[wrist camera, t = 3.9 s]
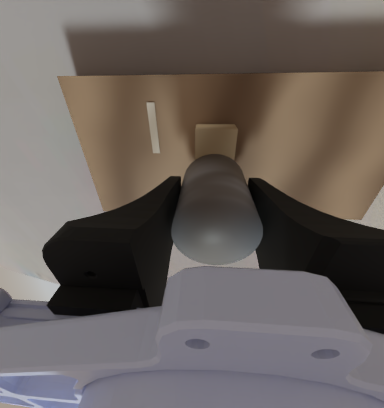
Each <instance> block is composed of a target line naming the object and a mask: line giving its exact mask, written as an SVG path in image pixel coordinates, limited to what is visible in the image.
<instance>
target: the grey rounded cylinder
mask: <svg viewBox="0 0 384 408" xmlns="http://www.w3.org/2000/svg"><path fill="white" fill-rule="evenodd" d="M237 134H238V129H237V127H236V125H235V124H196V128H195V160H194V161H193V162H192V163H191V164H190V165H189V167H188V168H187V170H186V172H185V174H184V178H183V182H182V186H181V190H180V195H179V199H178V203H177V207H176V211H175V215H174V219H173V223H172V228H171V235H172V239H173V242H174V244H175V246H176V247H177V248H178V250H179V251H180V252H181V253H182V254H184V255H185V256H187V257H188V258H190V259H192V260H194V261H197V262H200V263H203V264H210V265H224V264H230V263H234V262H237V261H240V260H242V259H244V258H245V257H247V256H249V255H250V254H251V253H252V252H253V251H254V250H255V249H256V248H257V247H258V246H259V244H260V242H261V239H262V236H263V226H262V223H261V220H260V217H259V215H258V212H257V209H256V207H255V204H254V201H253V199H252V196H251V193H250V191H249V188H248V185H247V183H246V180H245V177H244V175H243V172H242V169H241V168H240V166H239V165H238V164H237V163H236V162H235V161H234V158H235V150H236V142H237Z"/></svg>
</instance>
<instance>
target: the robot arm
mask: <svg viewBox="0 0 384 408" xmlns="http://www.w3.org/2000/svg"><path fill="white" fill-rule="evenodd" d="M248 188H249V191H250V193H251V196H252V199H253V201H254V204H255V207H256V209H257V212H258V215H259V217H260V220H261V223H262V226H263V236H262V239H261V242H260V244H259V246H258V247H257V248H256V249H255V250H256V254H257V258H258V263H259V268H260V269H251V268H232V267H213V266H201V267H193V268H185V269H183V270H181V271H180V272H178V273H176V274H175V275H173V276H171V277H170V278H168V281H167V275H168V269H169V262H170V256H171V250H172V246H173V239H172V235H171V228H172V223H173V219H174V215H175V211H176V207H177V203H178V199H179V195H180V190H181V176H170V177H169V178H167V179H166V180H165V181H163V182H162V183H161V184H160V185H158V186H157V187H156V188H154V189H153V190H151V191H150V192H148V193H147V194H145V195H144V196H142V197H140V198H138V199H136V200H134V201H132V202H130V203H128V204H126V205H123V206H121V207H119V208H116V209H113V210H111V211H108V212H104V213H101V214H98V215H94V216H90V217H86V218H81V219H77V220H73V221H67V222H66V223H65V224H64V225H63V226H62V227H61V228H60V230H59V231H58V232H57V233H56V234H55V235H54V236H53V237H52V238H51V239H50V240H49V241H48V242H47V243H46V244H45V245H44V247H43V250H42V252H43V259H44V261H45V263H46V265H47V266H48V268H49V269H50V270H51V272H52V273H53V275H54V276H55V278H56V279H57V280H58V282H59V283H60V287H59V288H58V290H57V291H56V292H55V294H54V295H53V297H52V298H51V299H50V301H49V302H45V301H30V300H15V299H12V298H11V296H10V295H9V294H8V293H7V292H6V291H5V290H4V289H1V288H0V403H5V404H12V405H18V406H24V407H31V408H384V230H381V229H377V228H373V227H369V226H365V225H361V224H358V223H354V222H351V221H347V220H344V219H341V218H338V217H335V216H332V215H330V214H327V213H324V212H321V211H319V210H316V209H314V208H312V207H310V206H307V205H305V204H303V203H301V202H299V201H297V200H295V199H294V198H292V197H290V196H288V195H286V194H285V193H283V192H282V191H280V190H278V189H277V188H275V187H274V186H272V185H271V184H269V183H268V182H266V181H264V180H263V179H261V178H249V180H248ZM166 282H167V285H166Z"/></svg>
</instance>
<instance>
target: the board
mask: <svg viewBox="0 0 384 408" xmlns="http://www.w3.org/2000/svg"><path fill="white" fill-rule="evenodd" d="M57 77H58V80H59V83H60V86H61V89H62V92H63V95H64V98H65V100H66V103H67V106H68V109H69V112H70V115H71V118H72V121H73V124H74V126H75V129H76V132H77V135H78V138H79V141H80V144H81V147H82V150H83V153H84V155H85V158H86V161H87V164H88V167H89V170H90V173H91V176H92V179H93V182H94V184H95V187H96V190H97V193H98V196H99V199H100V202H101V205H102V208H103V211H111V210H113V209H116V208H119V207H121V206H123V205H126V204H128V203H130V202H132V201H134V200H136V199H138V198H140V197H142V196H144V195H145V194H147V193H148V192H150V191H151V190H153V189H154V188H156V187H157V186H158V185H160V184H161V183H162V182H163V181H165V180H166V179H167V178H169V177H170V176H181V186H182V182H183V178H184V174H185V172H186V170H187V168H188V167H189V165H190V164H191V163H192V162H193V161H194V160H195V128H196V124H235V125H236V127H237V129H238V134H237V142H236V150H235V158H234V161H235V162H236V163H237V164H238V165H239V166H240V168H241V169H242V172H243V175H244V177H245V180H246V183H247V185H248V180H249V178H261V179H263V180H264V181H266V182H268V183H269V184H271V185H272V186H274V187H275V188H277V189H278V190H280V191H282V192H283V193H285V194H286V195H288V196H290V197H292V198H294V199H295V200H297V201H299V202H301V203H303V204H305V205H307V206H310V207H312V208H314V209H316V210H319V211H321V212H324V213H327V214H330V215H332V216H335V217H338V218H341V219H354V220H361V219H362V218H363V216H364V215H365V213H366V212H367V210H368V209H369V207H370V205H371V204H372V202H373V201H374V199H375V198H376V196H377V195H378V193H379V191H380V190H381V188H382V187H383V185H384V71H375V72H310V73H244V74H178V75H112V76H57Z"/></svg>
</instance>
